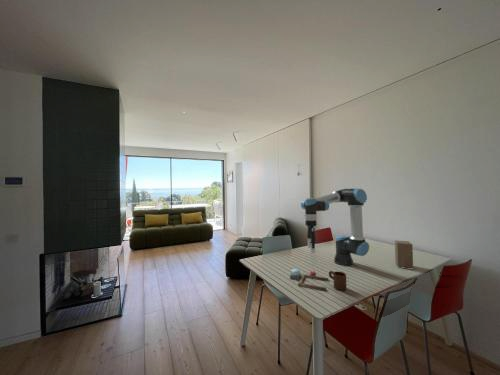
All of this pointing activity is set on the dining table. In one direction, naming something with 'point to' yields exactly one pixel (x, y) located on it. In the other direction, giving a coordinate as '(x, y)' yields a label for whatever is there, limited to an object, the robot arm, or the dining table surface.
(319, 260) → the dining table surface
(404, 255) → the wooden block
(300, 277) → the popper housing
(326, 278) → the bay
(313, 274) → the die
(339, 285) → the mug
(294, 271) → the dome
